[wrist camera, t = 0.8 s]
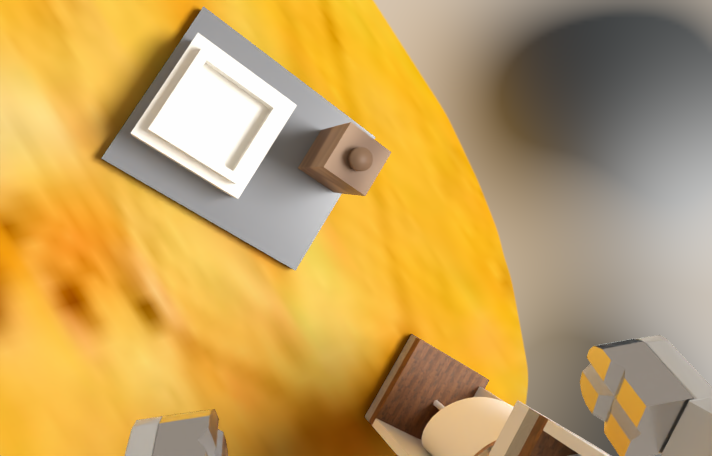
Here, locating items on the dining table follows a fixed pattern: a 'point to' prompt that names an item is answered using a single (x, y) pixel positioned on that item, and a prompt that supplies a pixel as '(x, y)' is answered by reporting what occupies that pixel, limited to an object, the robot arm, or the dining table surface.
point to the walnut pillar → (345, 159)
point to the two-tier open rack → (460, 413)
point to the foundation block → (214, 117)
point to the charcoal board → (273, 176)
